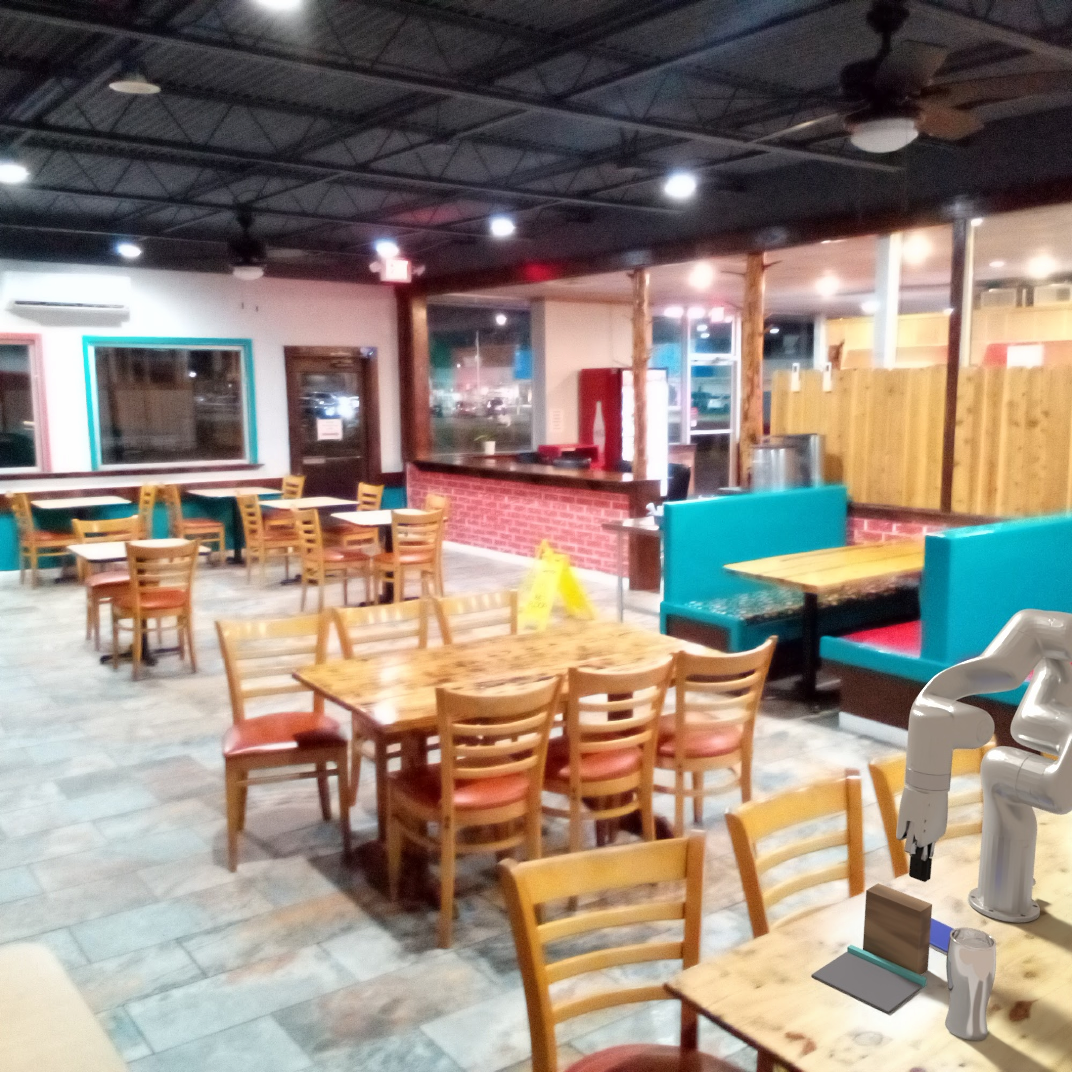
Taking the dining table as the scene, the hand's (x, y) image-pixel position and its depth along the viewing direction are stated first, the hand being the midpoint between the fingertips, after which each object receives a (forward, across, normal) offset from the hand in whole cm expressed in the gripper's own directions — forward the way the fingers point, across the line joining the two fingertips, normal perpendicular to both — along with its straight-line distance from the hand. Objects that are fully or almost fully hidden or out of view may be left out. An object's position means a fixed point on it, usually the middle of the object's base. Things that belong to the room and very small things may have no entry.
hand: (919, 878), depth 179 cm
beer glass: (+14, +17, +17) cm, 27 cm away
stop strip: (+13, +10, 0) cm, 17 cm away
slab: (+13, +7, 0) cm, 15 cm away
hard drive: (+14, -6, +3) cm, 15 cm away
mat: (+13, +17, 0) cm, 21 cm away
